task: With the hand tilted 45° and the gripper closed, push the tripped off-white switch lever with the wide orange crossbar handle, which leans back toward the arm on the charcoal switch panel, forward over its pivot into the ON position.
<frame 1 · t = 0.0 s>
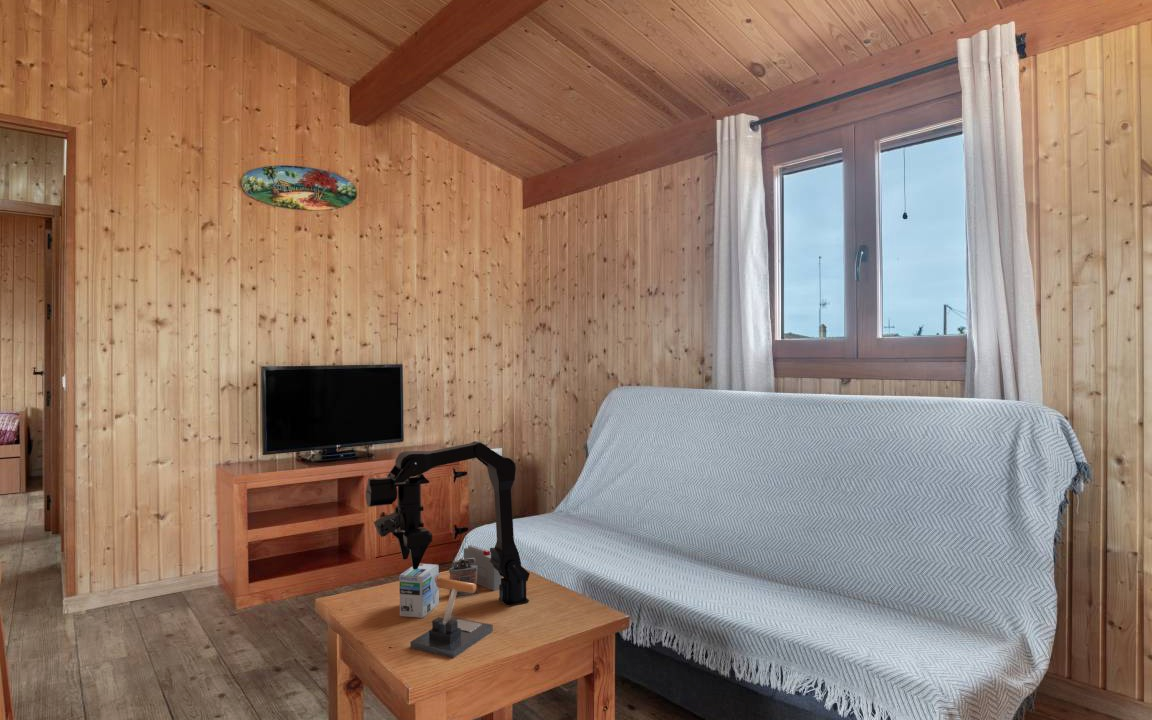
hand: (410, 564, 167), 15 cm above the table, tool pointing down, fingers open, 9 cm apart
switch panel: (445, 644, 154), on the table
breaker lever: (453, 593, 157), point 11 cm above the table, hinge at -30.0°
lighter: (463, 595, 187), on the table
cassette player: (482, 584, 196), on the table
light bulb box: (419, 610, 175), on the table
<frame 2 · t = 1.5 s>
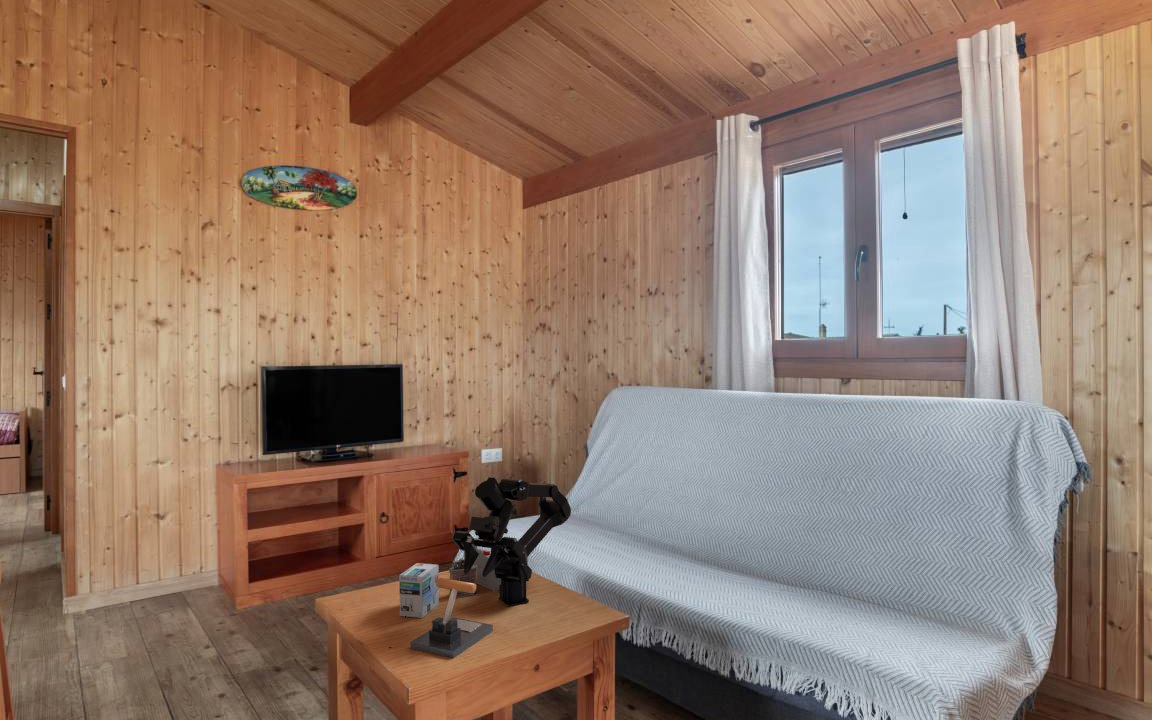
hand: (474, 574, 165), 13 cm above the table, tool tilted 45°, fingers open, 5 cm apart
nothing on the table moved.
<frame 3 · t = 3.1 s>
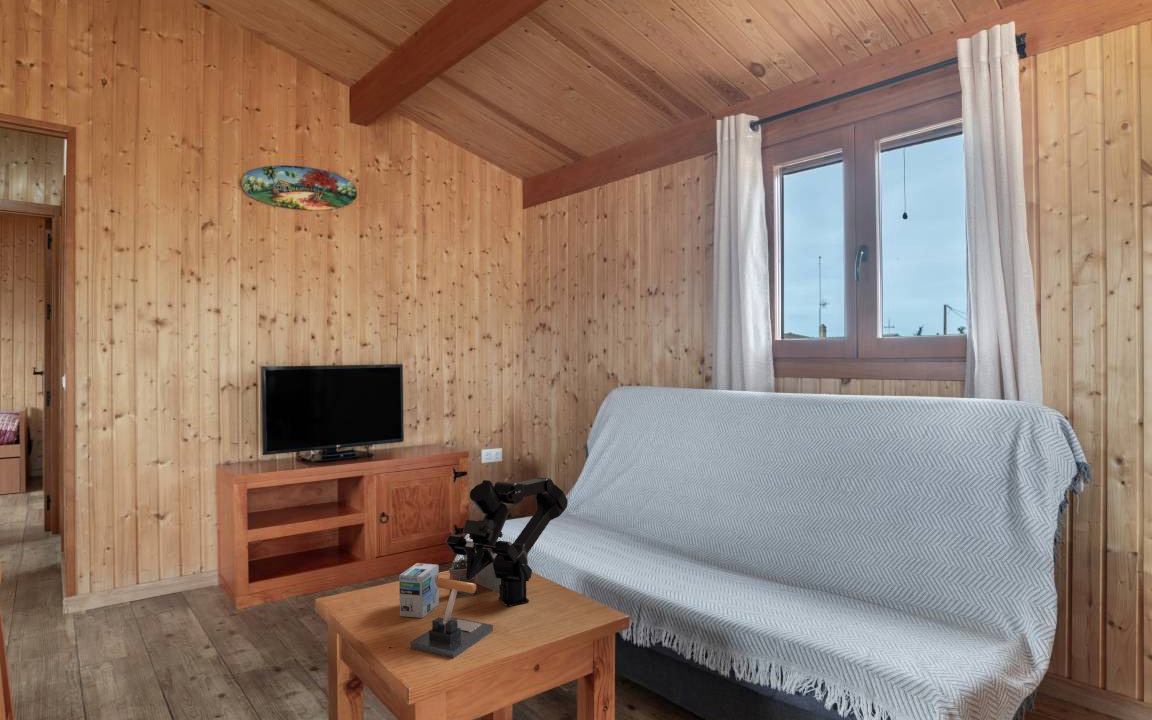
hand: (468, 579, 163), 12 cm above the table, tool tilted 45°, fingers closed
nothing on the table moved.
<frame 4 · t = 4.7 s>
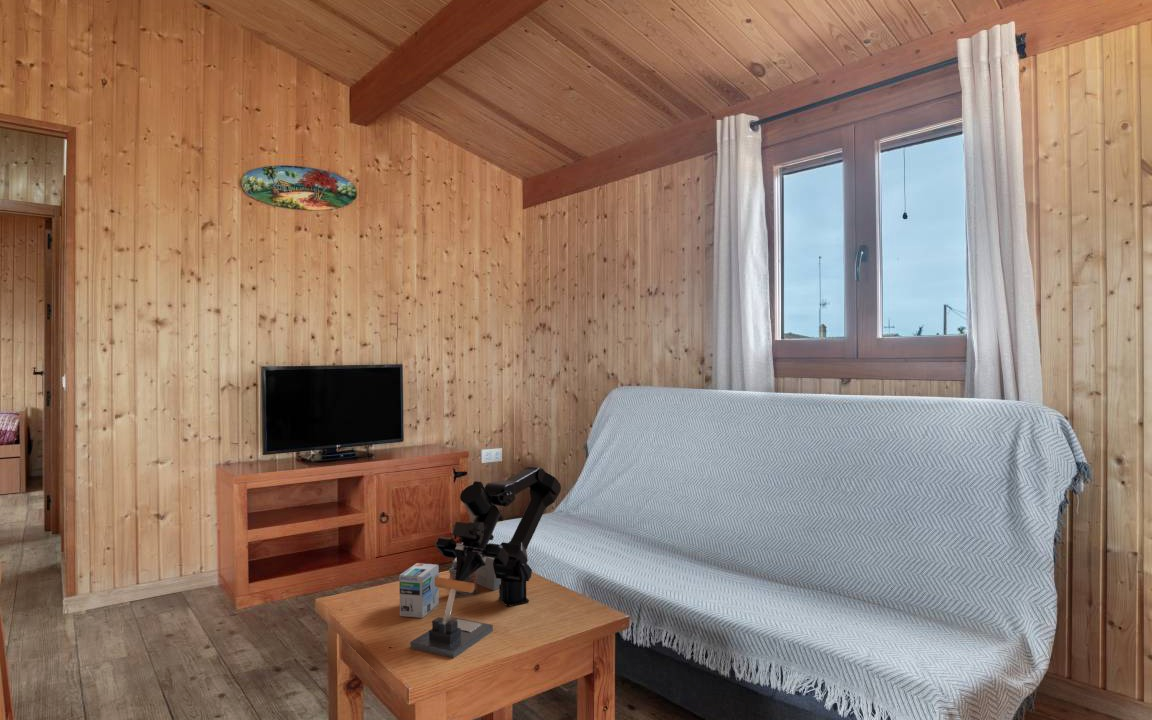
hand: (457, 582, 159), 13 cm above the table, tool tilted 45°, fingers closed, pressing on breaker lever
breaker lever: (452, 593, 157), point 11 cm above the table, hinge at -25.2°, touching gripper
everything else where it was.
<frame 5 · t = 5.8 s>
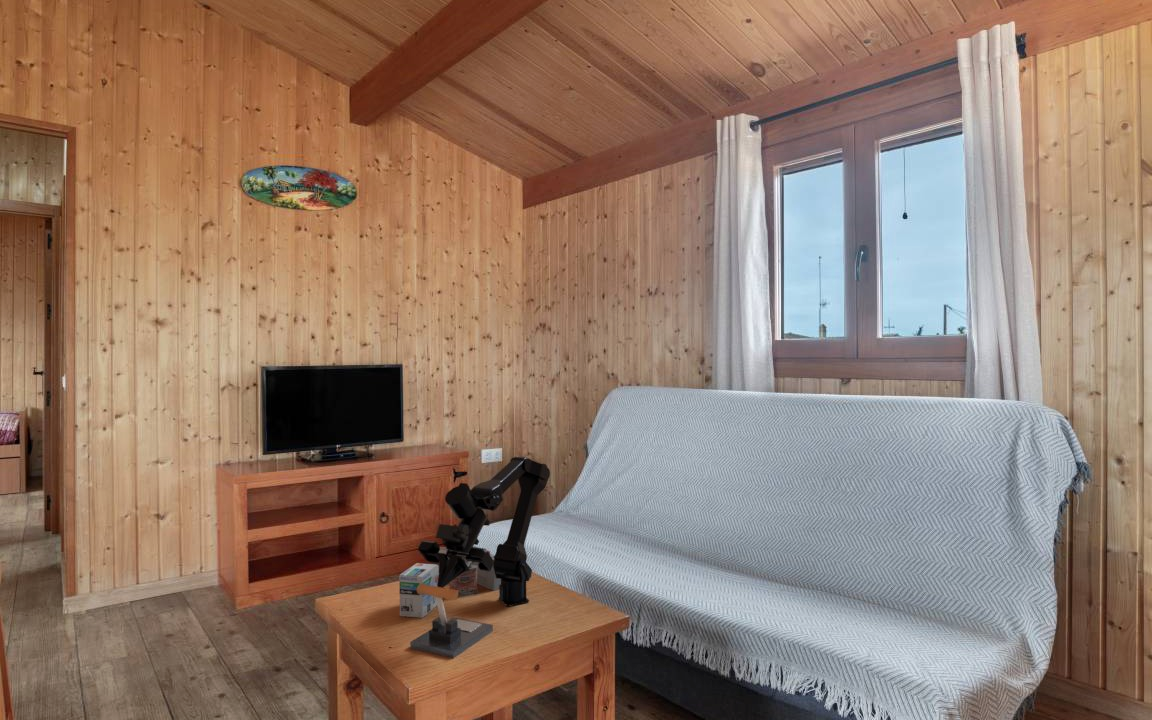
hand: (439, 587, 152), 14 cm above the table, tool tilted 50°, fingers closed, pressing on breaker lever
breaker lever: (439, 598, 152), point 11 cm above the table, hinge at 17.2°, touching gripper
everything else where it was.
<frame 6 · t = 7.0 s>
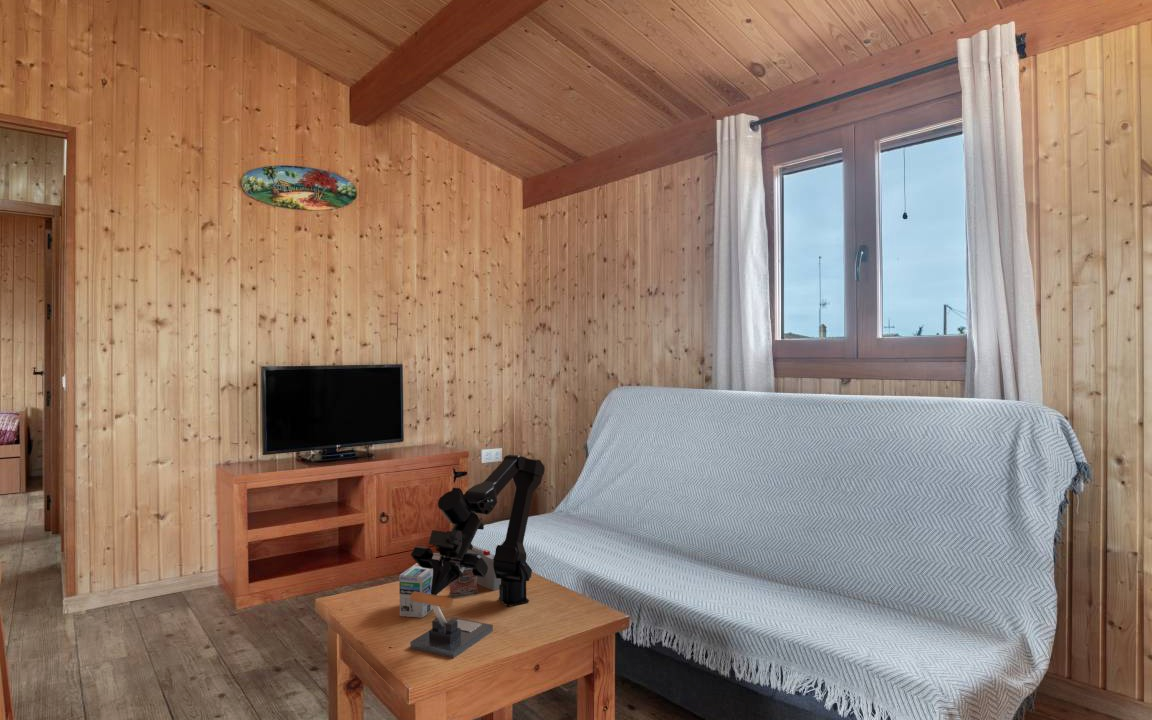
hand: (432, 594, 150), 13 cm above the table, tool tilted 45°, fingers closed, pressing on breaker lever
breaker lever: (434, 604, 151), point 10 cm above the table, hinge at 32.6°, touching gripper
everything else where it was.
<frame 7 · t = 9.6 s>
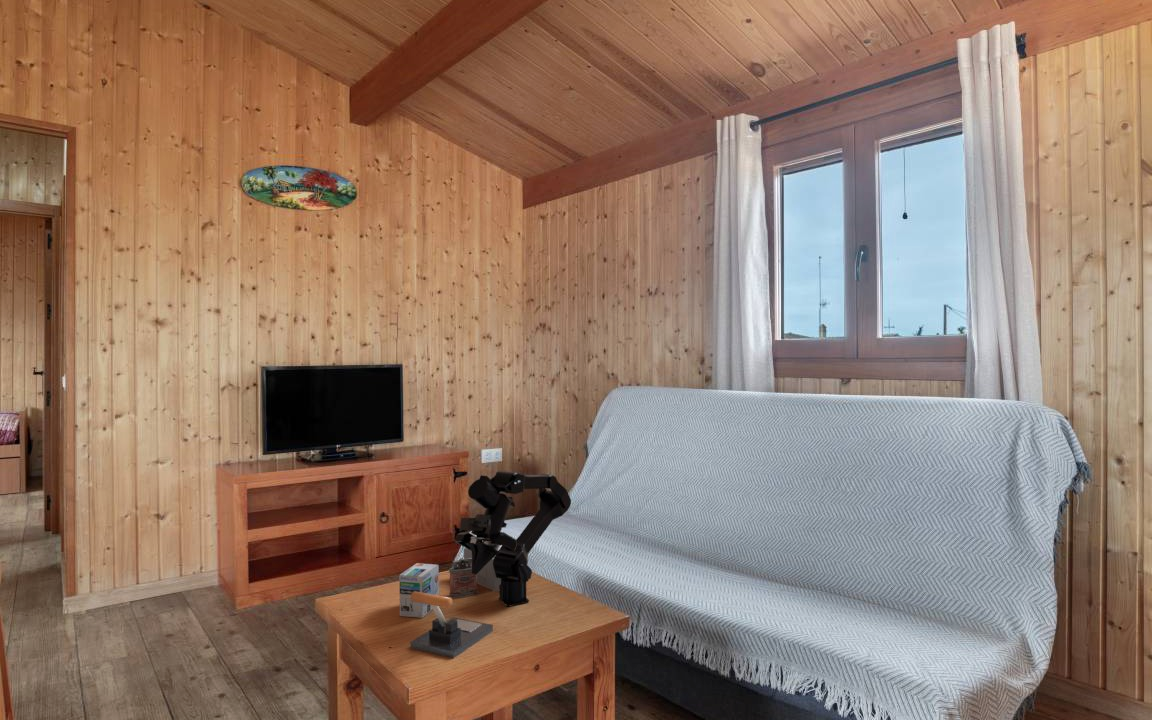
hand: (473, 574, 166), 12 cm above the table, tool tilted 35°, fingers closed
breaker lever: (434, 605, 151), point 10 cm above the table, hinge at 32.8°
everything else where it was.
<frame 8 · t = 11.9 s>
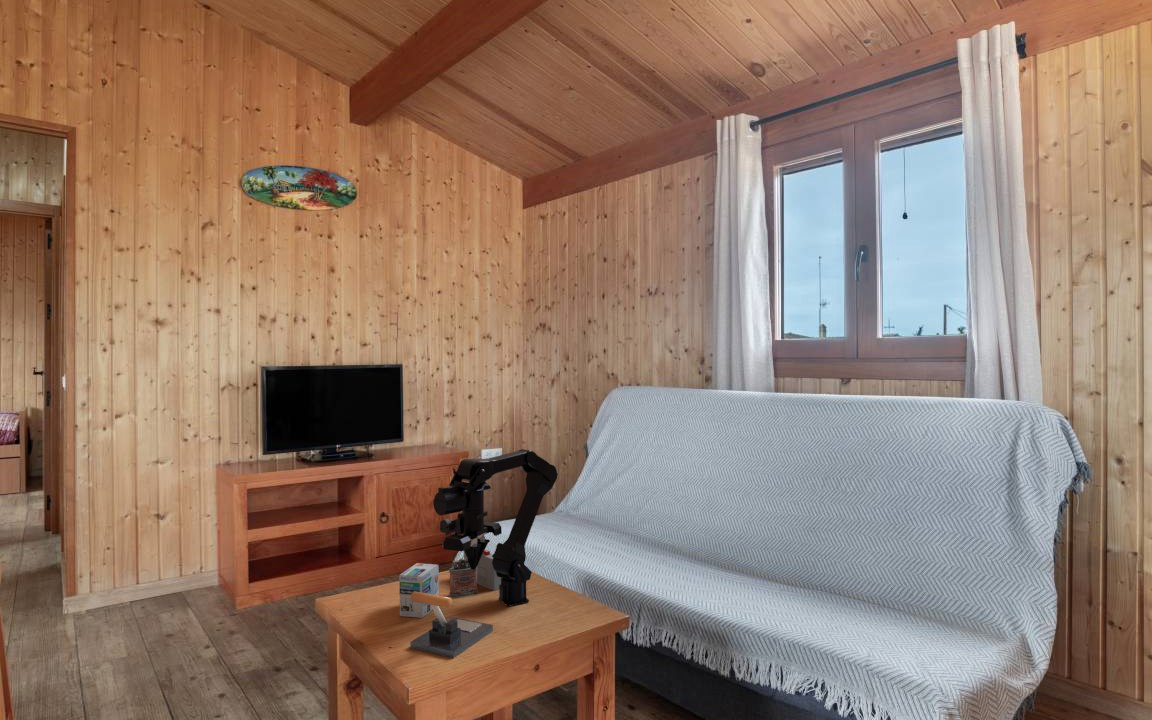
hand: (473, 569, 171), 12 cm above the table, tool pointing down, fingers closed
nothing on the table moved.
at the end: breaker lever at +33° (first picture: -30°) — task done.
